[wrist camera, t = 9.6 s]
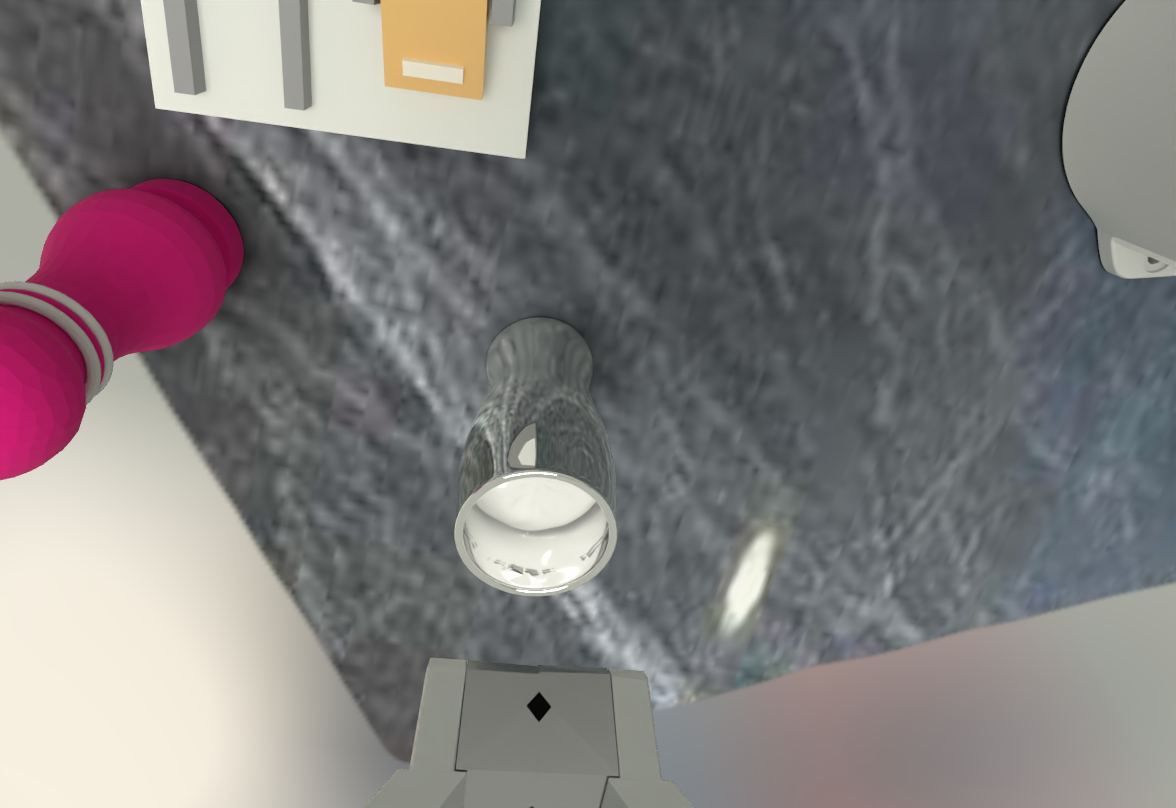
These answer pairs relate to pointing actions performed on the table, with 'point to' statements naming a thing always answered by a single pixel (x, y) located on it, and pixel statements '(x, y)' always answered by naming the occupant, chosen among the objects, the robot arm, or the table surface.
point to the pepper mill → (106, 305)
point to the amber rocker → (436, 46)
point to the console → (334, 71)
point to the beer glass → (537, 467)
